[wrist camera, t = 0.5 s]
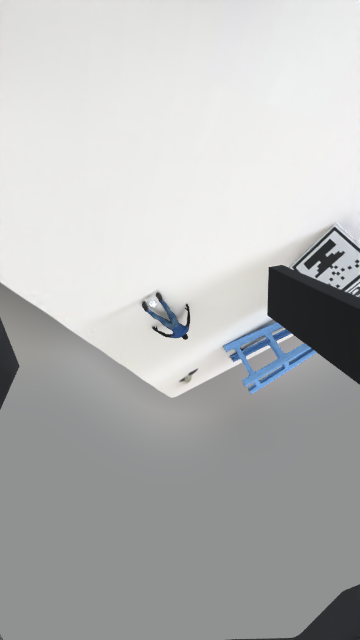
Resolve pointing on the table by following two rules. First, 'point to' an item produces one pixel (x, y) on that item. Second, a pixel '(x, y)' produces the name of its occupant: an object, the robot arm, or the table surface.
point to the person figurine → (172, 324)
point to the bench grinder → (281, 361)
